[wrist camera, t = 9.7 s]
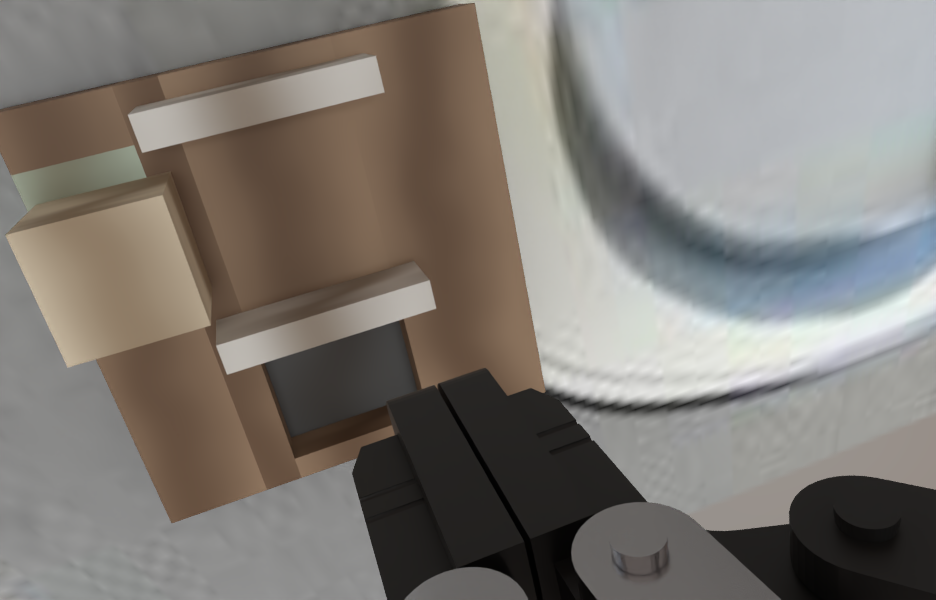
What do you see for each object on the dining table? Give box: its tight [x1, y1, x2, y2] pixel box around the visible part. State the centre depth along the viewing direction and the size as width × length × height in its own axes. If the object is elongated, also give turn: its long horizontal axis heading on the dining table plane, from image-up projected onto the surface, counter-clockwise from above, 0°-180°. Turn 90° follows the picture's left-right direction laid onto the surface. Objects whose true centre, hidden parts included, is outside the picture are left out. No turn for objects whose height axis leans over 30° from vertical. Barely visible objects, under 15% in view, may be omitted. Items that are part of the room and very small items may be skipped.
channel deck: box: [0, 3, 545, 523], centre depth 29 cm, size 17×17×4 cm
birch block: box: [6, 172, 212, 367], centre depth 25 cm, size 4×4×4 cm
